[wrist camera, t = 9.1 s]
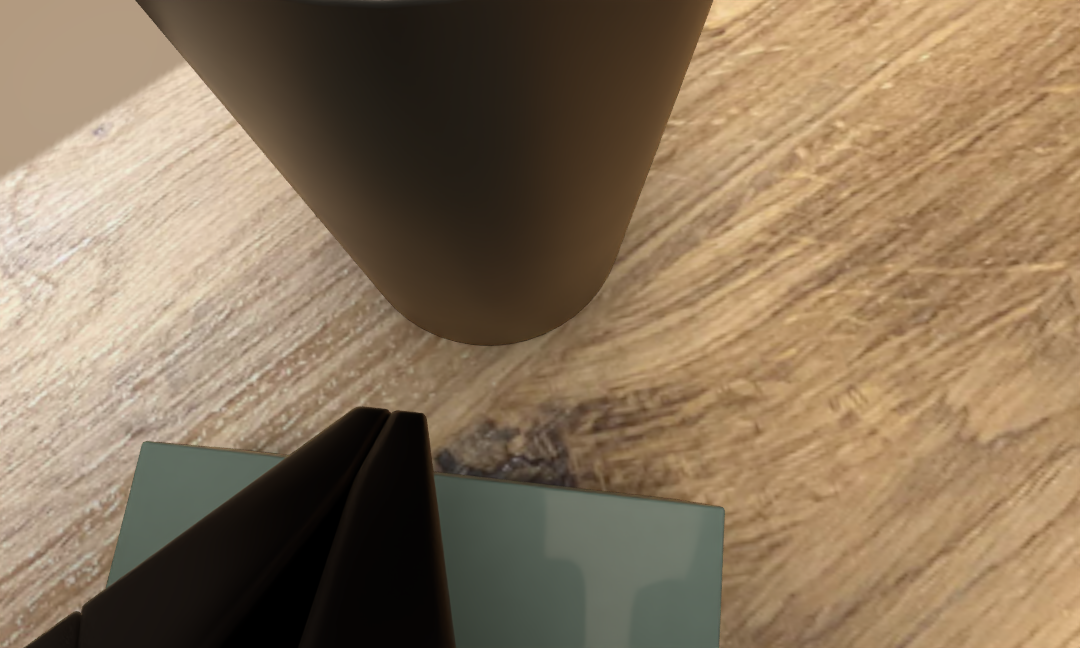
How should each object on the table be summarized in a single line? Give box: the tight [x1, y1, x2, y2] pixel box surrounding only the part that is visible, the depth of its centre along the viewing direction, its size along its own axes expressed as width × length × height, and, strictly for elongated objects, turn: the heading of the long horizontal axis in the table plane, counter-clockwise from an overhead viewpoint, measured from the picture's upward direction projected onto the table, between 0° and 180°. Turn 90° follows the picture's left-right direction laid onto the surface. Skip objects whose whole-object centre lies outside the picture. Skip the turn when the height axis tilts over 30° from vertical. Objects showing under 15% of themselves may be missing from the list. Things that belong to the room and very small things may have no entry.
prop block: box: [106, 441, 725, 648], centre depth 12 cm, size 4×10×3 cm, turn 84°
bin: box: [136, 0, 713, 345], centre depth 10 cm, size 12×6×12 cm
